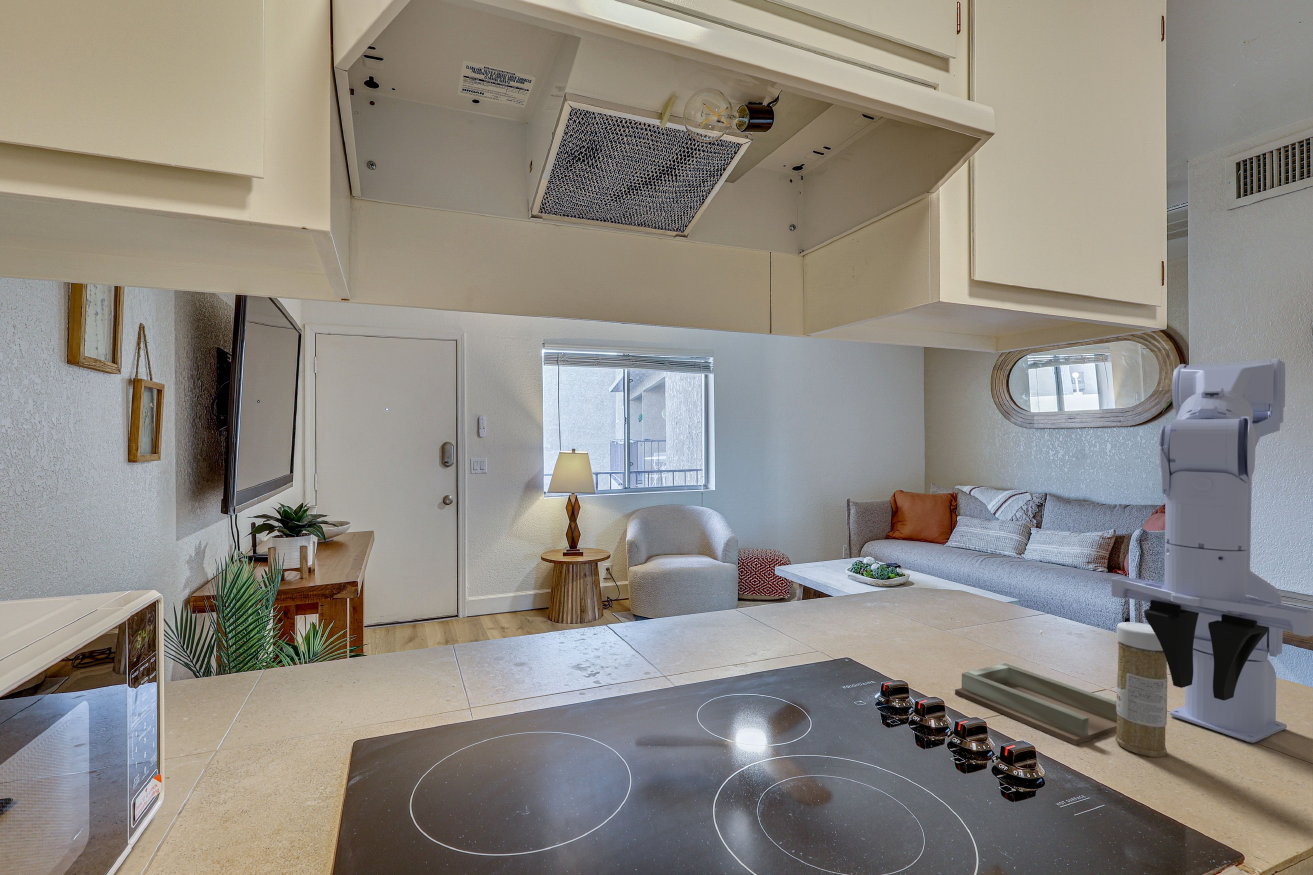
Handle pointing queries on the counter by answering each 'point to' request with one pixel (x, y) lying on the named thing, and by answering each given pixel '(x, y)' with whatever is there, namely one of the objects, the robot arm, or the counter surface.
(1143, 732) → the sprinkles bottle
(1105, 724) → the bottle rest
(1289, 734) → the counter surface
